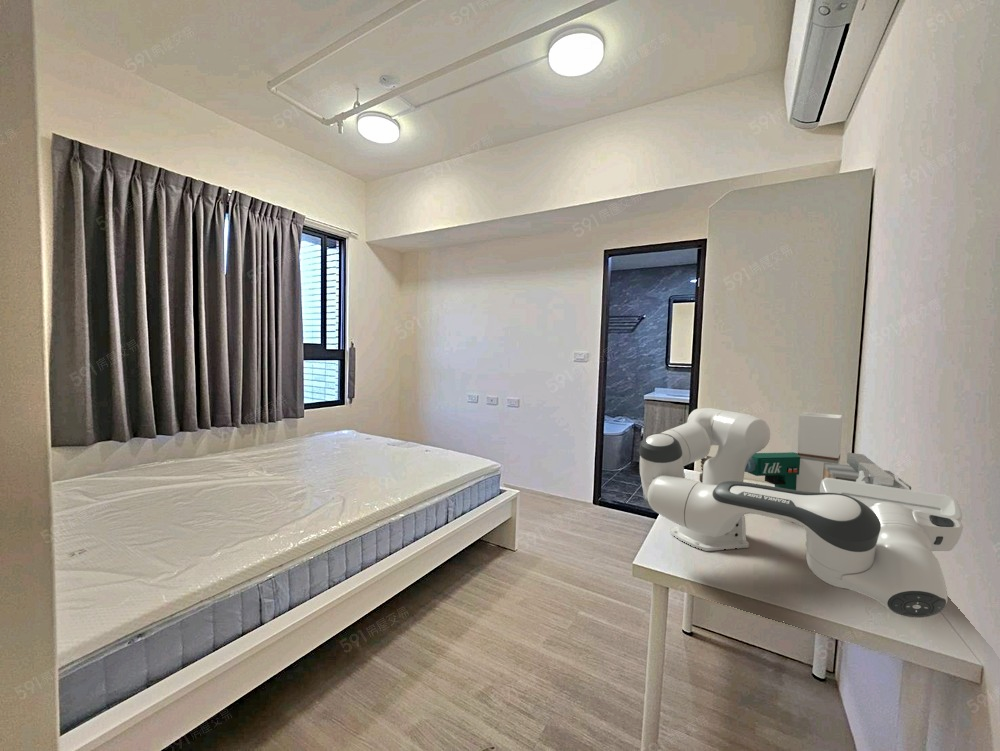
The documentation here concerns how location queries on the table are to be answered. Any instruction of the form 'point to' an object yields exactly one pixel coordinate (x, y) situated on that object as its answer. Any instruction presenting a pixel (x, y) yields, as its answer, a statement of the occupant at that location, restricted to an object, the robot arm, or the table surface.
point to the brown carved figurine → (702, 466)
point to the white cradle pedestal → (817, 448)
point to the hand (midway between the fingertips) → (877, 475)
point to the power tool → (776, 468)
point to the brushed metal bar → (869, 469)
